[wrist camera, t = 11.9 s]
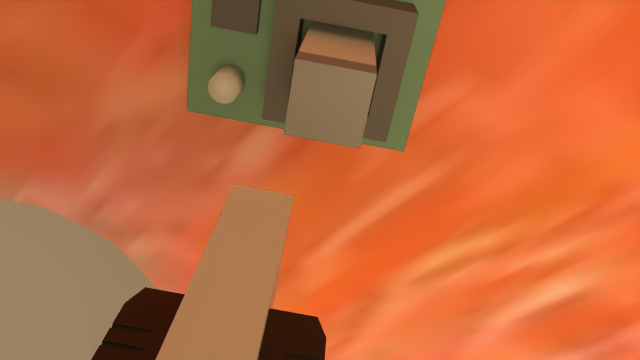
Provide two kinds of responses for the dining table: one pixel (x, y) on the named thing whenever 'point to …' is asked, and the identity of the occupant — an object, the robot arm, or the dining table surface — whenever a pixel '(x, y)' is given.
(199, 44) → the board
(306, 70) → the plug
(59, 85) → the dining table surface
